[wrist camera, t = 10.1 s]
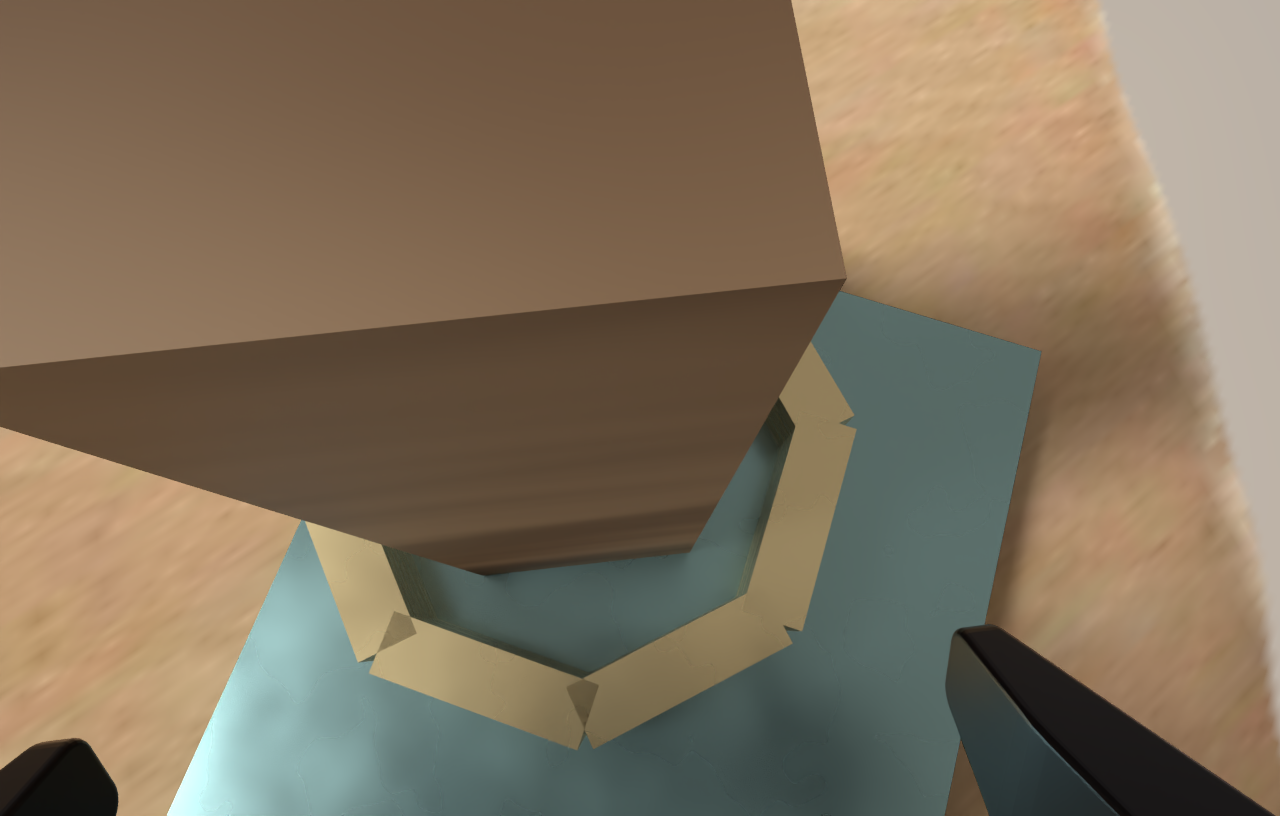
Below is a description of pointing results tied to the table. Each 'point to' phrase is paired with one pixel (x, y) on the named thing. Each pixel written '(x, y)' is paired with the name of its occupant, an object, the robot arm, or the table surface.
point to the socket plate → (663, 627)
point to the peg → (415, 257)
